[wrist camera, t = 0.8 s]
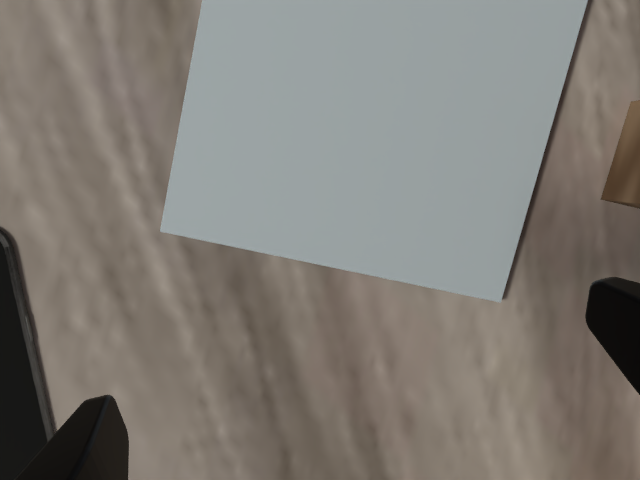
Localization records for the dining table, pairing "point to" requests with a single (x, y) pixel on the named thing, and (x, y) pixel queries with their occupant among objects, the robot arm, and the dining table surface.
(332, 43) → the mat
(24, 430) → the smartphone
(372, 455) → the dining table surface
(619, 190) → the walnut block
